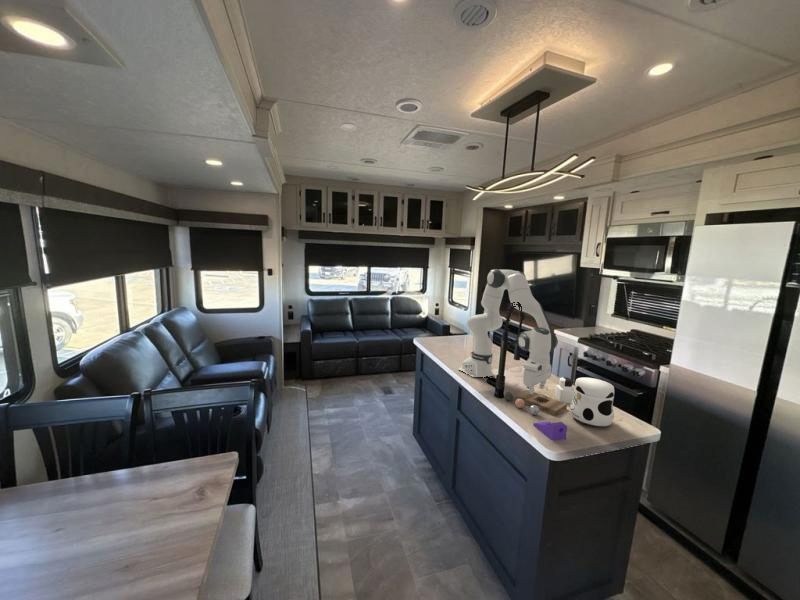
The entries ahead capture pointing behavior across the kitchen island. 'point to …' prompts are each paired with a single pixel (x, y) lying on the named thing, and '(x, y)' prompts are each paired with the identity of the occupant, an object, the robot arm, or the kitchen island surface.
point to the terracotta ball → (520, 403)
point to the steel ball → (534, 410)
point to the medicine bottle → (564, 390)
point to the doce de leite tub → (593, 402)
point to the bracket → (552, 429)
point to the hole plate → (549, 406)
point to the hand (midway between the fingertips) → (536, 390)
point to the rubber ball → (508, 396)
